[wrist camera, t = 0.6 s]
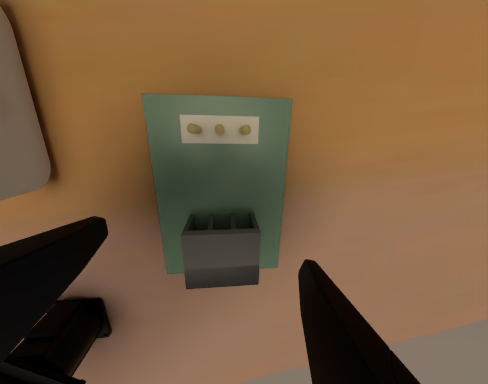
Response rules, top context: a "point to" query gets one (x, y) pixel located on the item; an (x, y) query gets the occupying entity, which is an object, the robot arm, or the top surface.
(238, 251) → the plug
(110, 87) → the top surface
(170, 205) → the header board
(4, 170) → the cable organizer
